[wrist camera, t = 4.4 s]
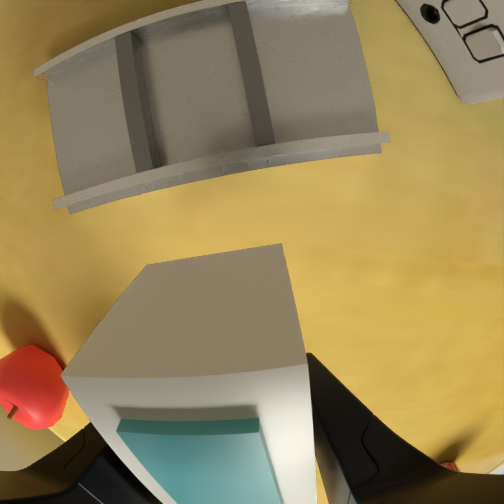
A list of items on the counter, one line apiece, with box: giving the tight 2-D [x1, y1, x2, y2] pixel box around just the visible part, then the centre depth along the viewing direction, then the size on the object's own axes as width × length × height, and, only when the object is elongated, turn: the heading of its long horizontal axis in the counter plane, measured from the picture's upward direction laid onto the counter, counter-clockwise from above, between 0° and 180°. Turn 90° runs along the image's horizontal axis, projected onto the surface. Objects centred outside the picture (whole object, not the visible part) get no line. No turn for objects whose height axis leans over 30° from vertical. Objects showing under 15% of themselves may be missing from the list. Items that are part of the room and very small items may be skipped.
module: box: [60, 243, 317, 504], centre depth 7 cm, size 4×7×5 cm, turn 10°
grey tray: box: [33, 0, 390, 214], centre depth 15 cm, size 20×11×2 cm, turn 100°
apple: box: [0, 344, 69, 429], centre depth 20 cm, size 8×8×8 cm
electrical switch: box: [396, 0, 504, 104], centre depth 10 cm, size 9×5×9 cm, turn 35°
